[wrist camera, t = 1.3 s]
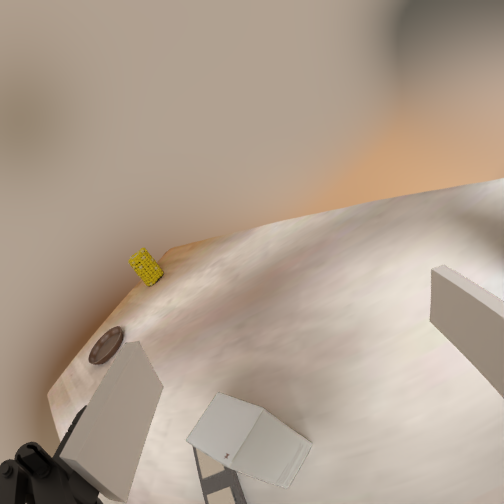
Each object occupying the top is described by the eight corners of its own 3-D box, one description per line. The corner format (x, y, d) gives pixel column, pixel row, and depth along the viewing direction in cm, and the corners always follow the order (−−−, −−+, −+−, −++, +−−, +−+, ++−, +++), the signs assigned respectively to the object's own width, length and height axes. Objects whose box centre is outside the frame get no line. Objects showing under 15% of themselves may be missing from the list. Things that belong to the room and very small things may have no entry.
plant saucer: (122, 325, 95) (117, 320, 94) (130, 341, 81) (124, 335, 80) (93, 355, 88) (87, 350, 87) (96, 376, 74) (89, 371, 73)
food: (150, 292, 110) (153, 282, 119) (166, 273, 108) (169, 263, 118) (121, 270, 105) (127, 260, 114) (137, 249, 103) (142, 241, 112)
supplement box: (314, 442, 29) (266, 407, 24) (287, 490, 24) (226, 469, 19) (271, 428, 34) (217, 389, 29) (245, 470, 30) (182, 440, 24)
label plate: (223, 432, 37) (217, 429, 36) (256, 529, 21) (249, 529, 20) (197, 446, 37) (190, 442, 36) (221, 540, 20) (214, 539, 20)
